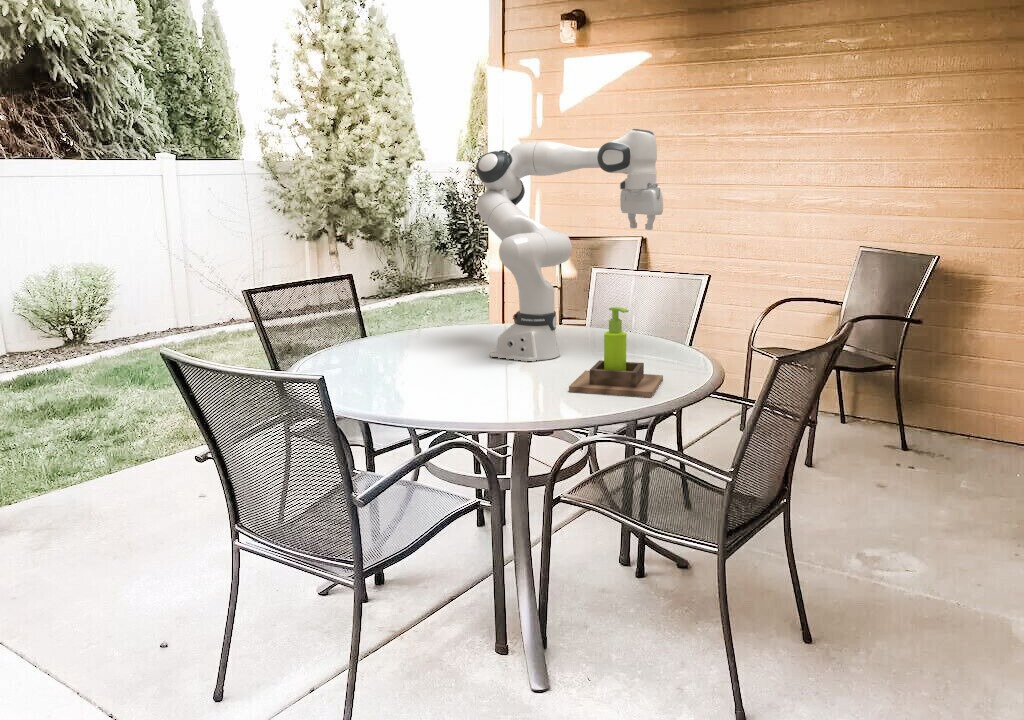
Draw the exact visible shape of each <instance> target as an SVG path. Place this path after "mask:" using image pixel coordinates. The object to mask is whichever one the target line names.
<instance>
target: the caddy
mask: <svg viewBox="0 0 1024 720" xmlns="http://www.w3.org/2000/svg"><path fill="white" fill-rule="evenodd" d="M644 372H645V363H644V362H635V361H626V371H618V370H604V360H601V359H600V360H598V361H597V362H596V363H595V364H594V365H593V366H592V367H591V368H590V369H589V370H584V371H583V373H581V374H580V375H579V376H578V377H576V379H575V380H574V381H573V382H572V383H571V384H570V385H569V386H568V392H569V393H579V394H592V395H593V394H594V395H606V394H607V396H620V395H621V396H624V397H634V396H641V397H640V398H648V397H652V396H653V397H654V396H655V394H656V393H657V391H658V389H659V388H660V386H661V384H662V383H661V382H663V380H664V375H663V374H650V373H646V374H645V373H644ZM659 385H660V386H659ZM656 390H657V391H656ZM654 393H655V394H654ZM642 396H643V397H642ZM653 397H652V398H653Z"/></svg>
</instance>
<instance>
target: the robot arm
mask: <svg viewBox="0 0 1024 720" xmlns="http://www.w3.org/2000/svg"><path fill="white" fill-rule="evenodd" d="M657 151H658V148H657V138H656V135H655V133H654V132H653V131H651V130H646V129H640V128H633V129H631V130H629V131H628V132H627V133H626V134H624V135H623V136H621V137H619V138H617V139H614V140H611V141H609V142H606V143H604V144H603V145H602V146H601V147H597V148H594V147H593V148H592V147H590V148H589V147H579V146H574V145H570V144H566V143H562V142H557V141H553V140H552V141H550V140H533V141H528V142H527V141H526V142H521V143H519V144H516V145H514V146H513V147H512V148H511V149H510V152H508V151H507V150H504V149H503V150H502V149H501V150H495V151H490V152H486V153H485V154H482V156H481V157H480V158H479V159H478V160H477V162H476V165H475V169H476V174H477V176H478V178H479V179H480V181H481V182H482V184H483V185H484V187H485V188H486V190H485V192H483V193H482V194H481V195H480V196H479V197H478V199H477V202H476V210H477V212H478V215H479V216H480V217H481V220H483V222H484V224H486V225H487V227H488V228H489V229H490V230H491V231H492V232H493V233H494V234H495V235H496V236H497V237H498V238H499V239H500V241H501V242H500V245H499V249H498V255H499V260H500V261H501V264H502V265H503V266H504V267H505V268H506V269H508V270H509V271H510V272H511V274H512V275H513V277H514V279H515V281H516V284H517V288H518V289H517V291H518V300H519V310H517V311H516V313H514V314H513V315H512V320H513V322H514V323H513V324H512V325H510V326H509V327H507V329H506V330H504V331H503V332H502V333H500V334H499V336H498V338H497V340H496V348H493V349H492V350H490V352H489V357H490V356H491V357H490V358H492V357H498V358H497V359H500V358H506V359H505V360H509V359H514V360H513V361H518V360H521V361H520V362H527V361H532V362H536V360H537V361H543V360H551V359H554V358H558V357H560V355H561V353H560V351H559V350H560V349H559V345H558V340H557V334H556V328H557V312H556V311H555V287H554V285H552V283H551V282H550V281H548V280H546V279H545V277H544V276H543V273H542V268H547V267H549V268H550V267H556V266H559V265H561V264H563V263H566V262H567V261H568V260H569V259H570V258H571V256H572V251H573V246H572V242H571V239H570V237H569V236H568V235H567V234H566V233H564V232H559V231H556V230H554V229H552V228H550V227H547V226H546V225H544V224H542V223H540V222H538V221H536V220H534V219H532V218H531V217H529V216H528V215H526V214H525V213H524V211H522V210H521V209H520V208H519V207H518V206H517V205H518V204H519V203H520V202H521V201H522V199H523V198H524V196H525V186H524V182H523V181H522V180H521V179H522V178H524V177H527V176H537V177H538V176H540V177H542V176H543V177H544V176H553V175H555V176H556V175H559V174H562V173H563V174H564V173H568V172H573V171H576V170H580V169H582V170H583V169H598V168H599V169H601V170H603V172H607V173H610V174H625V175H627V177H626V178H625V179H624V180H622V181H621V182H620V183H619V189H620V190H621V191H620V195H619V197H620V199H619V200H620V201H619V202H620V203H619V204H620V210H621V213H622V214H627V218H628V222H629V228H630V229H637V228H638V222H636V221H637V220H636V217H637V215H644V216H645V215H646V219H647V220H646V223H645V224H644V226H645V228H644V230H647V231H650V230H651V231H652V230H653V229H654V222H655V220H656V216H661V215H662V214H663V212H664V200H663V199H664V198H663V197H664V196H663V191H662V190H661V187H660V186H659V184H658V183H657V169H656V162H657V158H658V155H657V154H658V152H657Z"/></svg>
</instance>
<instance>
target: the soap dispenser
mask: <svg viewBox="0 0 1024 720" xmlns="http://www.w3.org/2000/svg"><path fill="white" fill-rule="evenodd" d="M608 310H609V311H611V312H612V314H611V315H612V316H611V318H610V319H608V331H605V332H604V333H603V335H604V336H603V342H604V344H603V350H604V351H603V361H604V370H618V371H626V362H627V332H625V331H622V330H623V328H622V327H623V326H622V325H623V321H622V319H620V317H619V315H620V314H619V313H628V312H629V311H630V310H628V309H627V308H624V307H620V306H619V307H617V306H614V307H610V308H608Z"/></svg>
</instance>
